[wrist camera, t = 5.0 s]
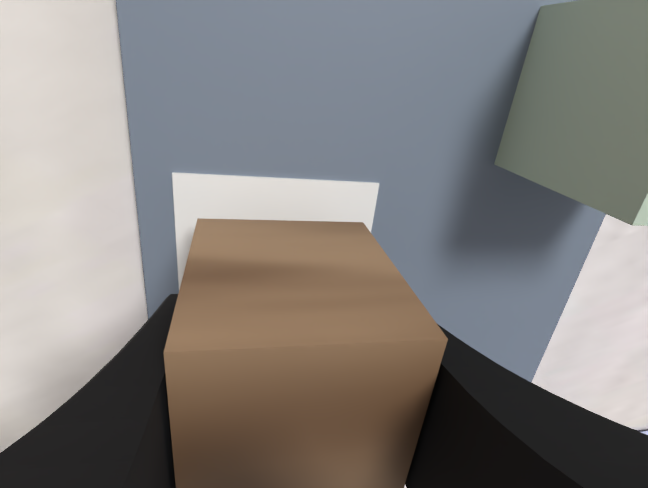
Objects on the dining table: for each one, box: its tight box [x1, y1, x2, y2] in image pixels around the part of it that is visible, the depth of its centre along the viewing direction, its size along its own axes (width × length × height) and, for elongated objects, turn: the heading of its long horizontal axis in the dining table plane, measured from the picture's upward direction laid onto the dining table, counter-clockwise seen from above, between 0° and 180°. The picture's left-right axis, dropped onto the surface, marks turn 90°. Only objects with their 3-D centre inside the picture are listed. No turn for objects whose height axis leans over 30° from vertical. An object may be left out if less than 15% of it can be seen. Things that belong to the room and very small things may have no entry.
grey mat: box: [116, 0, 606, 382], centre depth 14 cm, size 20×16×1 cm
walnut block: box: [164, 218, 448, 488], centre depth 9 cm, size 4×4×5 cm
